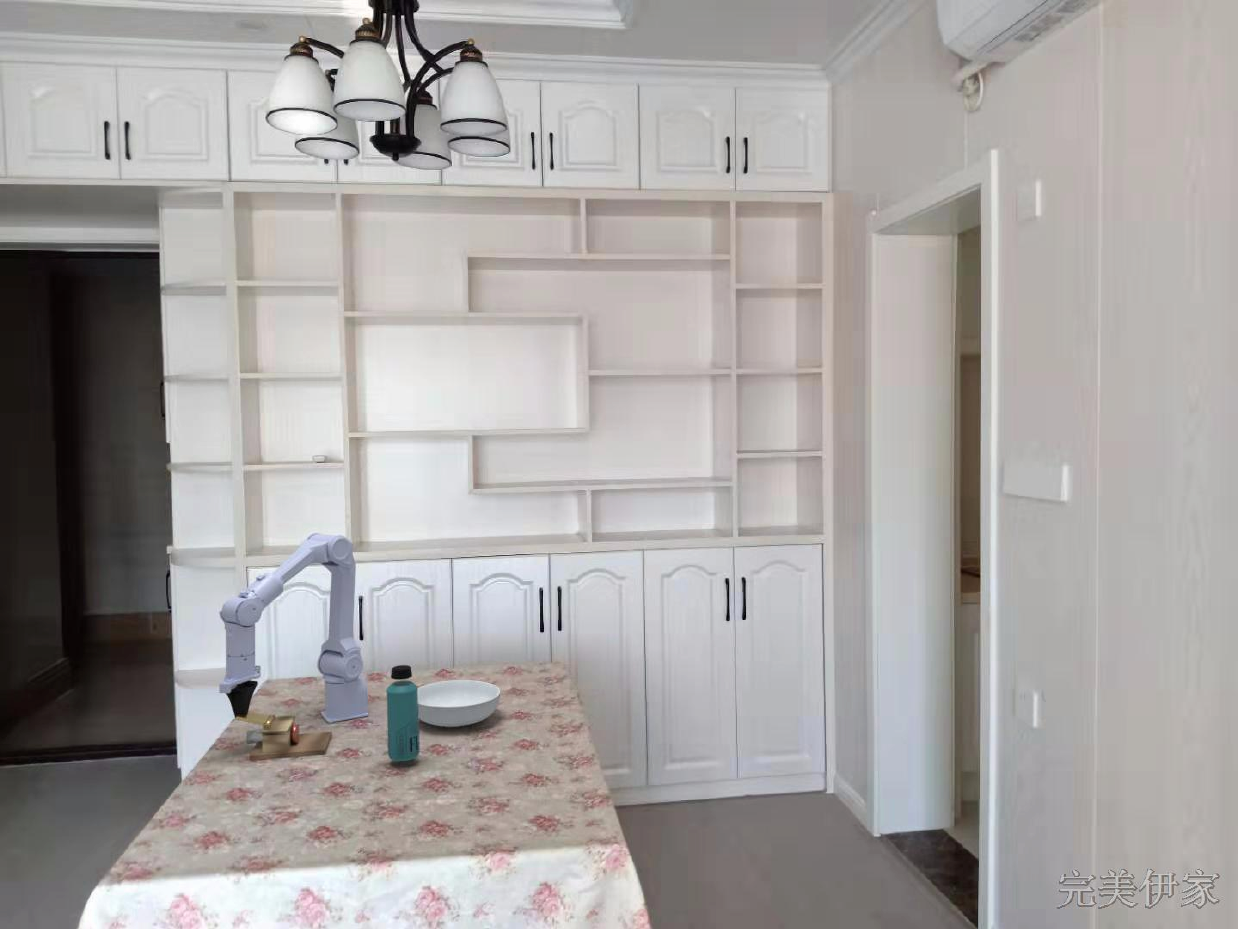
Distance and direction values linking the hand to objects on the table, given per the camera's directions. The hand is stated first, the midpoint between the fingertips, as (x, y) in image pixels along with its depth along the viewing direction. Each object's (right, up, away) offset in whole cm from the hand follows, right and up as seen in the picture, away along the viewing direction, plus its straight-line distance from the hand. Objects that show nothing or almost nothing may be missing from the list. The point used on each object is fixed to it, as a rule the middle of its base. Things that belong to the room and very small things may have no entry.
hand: (240, 717), depth 183 cm
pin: (+6, -6, +2) cm, 9 cm away
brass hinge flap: (+3, -1, +1) cm, 3 cm away
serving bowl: (+42, -7, +19) cm, 47 cm away
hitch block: (+10, -7, +3) cm, 13 cm away
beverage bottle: (+36, -8, -6) cm, 38 cm away
